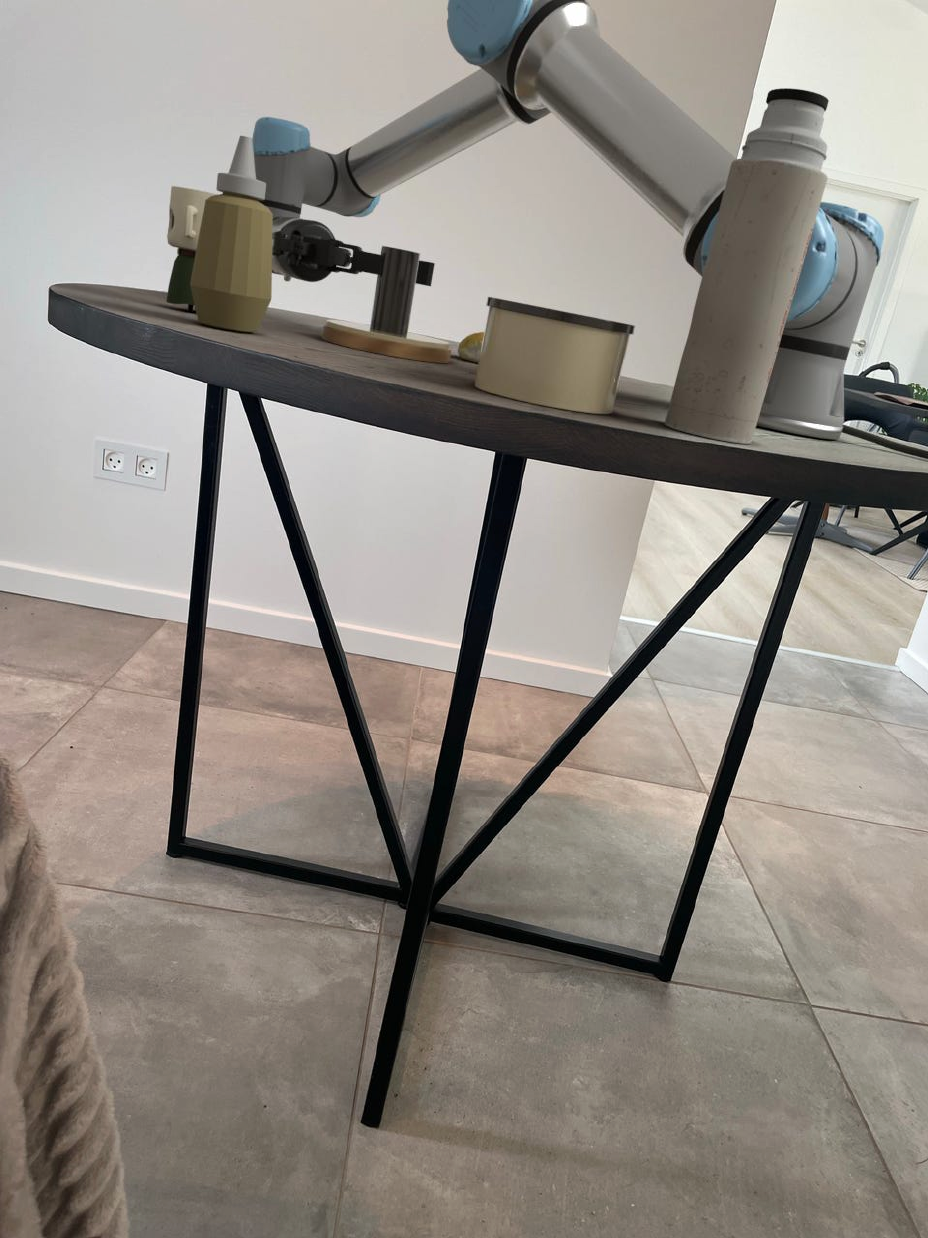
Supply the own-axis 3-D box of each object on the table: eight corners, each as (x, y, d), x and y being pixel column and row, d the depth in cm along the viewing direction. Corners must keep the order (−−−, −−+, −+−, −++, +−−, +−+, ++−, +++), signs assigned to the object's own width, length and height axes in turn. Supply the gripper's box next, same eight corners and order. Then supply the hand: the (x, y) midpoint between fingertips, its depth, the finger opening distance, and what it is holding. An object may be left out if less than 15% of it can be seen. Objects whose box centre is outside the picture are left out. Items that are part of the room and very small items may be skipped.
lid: (447, 344, 115) (461, 263, 112) (449, 352, 102) (465, 260, 99) (332, 322, 114) (343, 239, 111) (319, 327, 101) (331, 233, 97)
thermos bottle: (746, 438, 88) (840, 113, 79) (755, 448, 81) (859, 90, 72) (663, 420, 89) (746, 97, 80) (664, 428, 82) (756, 73, 73)
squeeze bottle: (279, 339, 95) (302, 147, 89) (203, 328, 90) (221, 124, 84) (249, 328, 101) (268, 147, 95) (175, 317, 96) (191, 126, 90)
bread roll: (528, 369, 122) (534, 338, 121) (509, 370, 114) (516, 337, 113) (470, 357, 124) (475, 326, 123) (447, 357, 116) (453, 324, 115)
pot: (601, 403, 95) (619, 322, 92) (628, 422, 82) (651, 328, 79) (468, 378, 93) (483, 295, 91) (474, 393, 80) (492, 297, 78)
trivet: (448, 357, 116) (450, 345, 116) (450, 367, 102) (453, 353, 102) (328, 334, 115) (330, 322, 114) (314, 341, 101) (316, 327, 100)
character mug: (178, 305, 114) (187, 191, 110) (235, 316, 114) (246, 203, 110) (147, 306, 104) (156, 180, 100) (210, 318, 104) (222, 193, 100)
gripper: (376, 293, 132) (461, 313, 117) (207, 262, 117) (281, 280, 102) (384, 237, 130) (473, 250, 114) (213, 198, 115) (289, 207, 99)
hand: (382, 264), depth 108 cm, fingers open, 13 cm apart
